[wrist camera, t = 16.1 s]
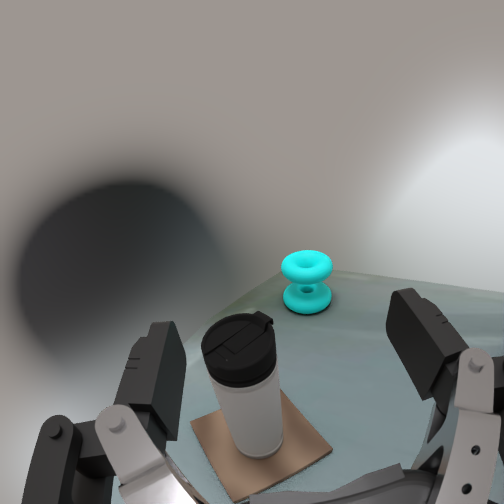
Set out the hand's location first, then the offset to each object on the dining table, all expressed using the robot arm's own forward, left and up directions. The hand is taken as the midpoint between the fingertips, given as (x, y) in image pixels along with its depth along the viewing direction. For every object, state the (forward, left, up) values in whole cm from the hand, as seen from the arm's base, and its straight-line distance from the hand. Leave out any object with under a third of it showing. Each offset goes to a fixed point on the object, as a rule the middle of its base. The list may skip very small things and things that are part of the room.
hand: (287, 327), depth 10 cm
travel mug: (-1, -10, -29) cm, 31 cm away
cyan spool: (-25, -32, -30) cm, 51 cm away
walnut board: (-1, -10, -30) cm, 32 cm away
